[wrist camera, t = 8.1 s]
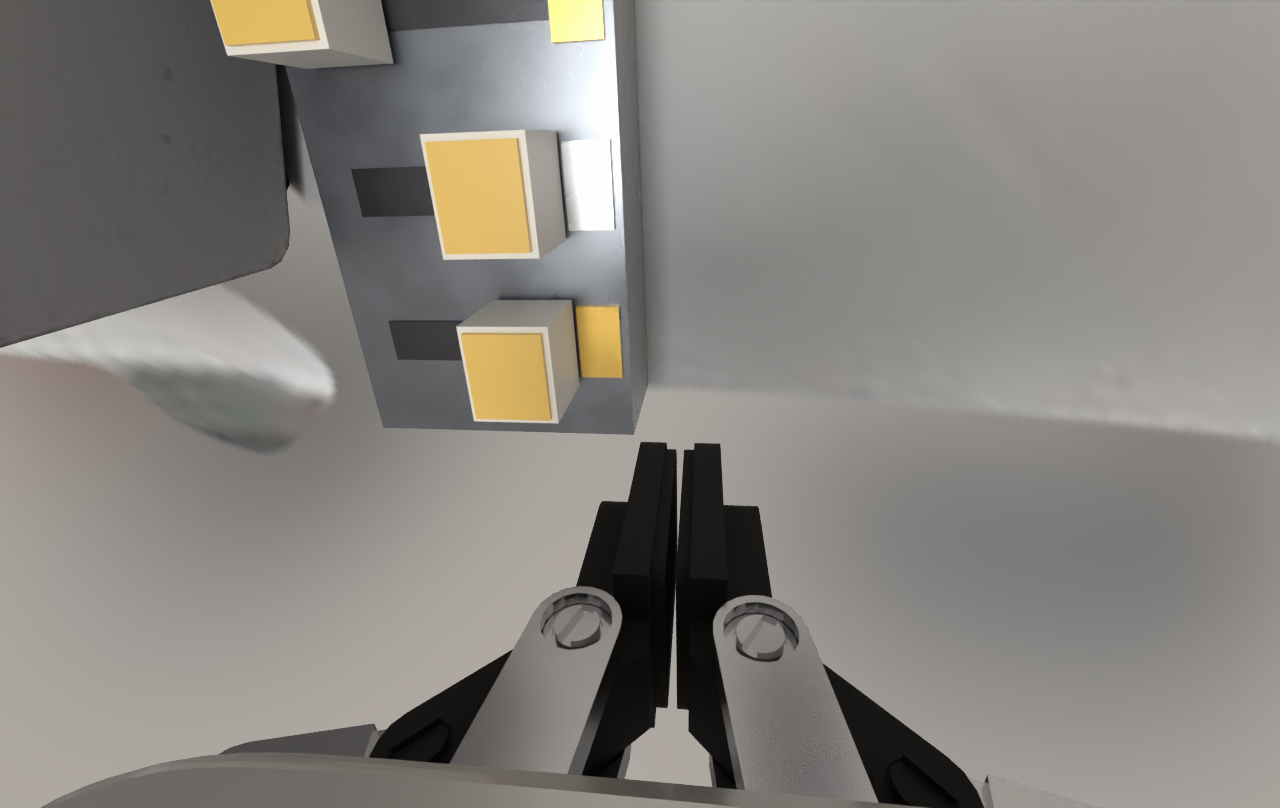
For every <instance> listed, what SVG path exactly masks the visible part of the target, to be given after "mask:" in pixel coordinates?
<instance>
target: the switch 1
mask: <svg viewBox="0 0 1280 808" xmlns="http://www.w3.org/2000/svg"><path fill="white" fill-rule="evenodd" d="M210 1H211V4H212V8H213V11H214V14H215V17H216V20H217V24H218V27H219V30H220V33H221V37H222V40H223V43H224V46H225V50H226V53H227V56H233V57H239V58H245V59H250V60H256V61H262V62H268V63H274V64H280V65H286V66H292V67H298V68H304V69H313V68H329V67H345V66H360V65H376V64H392V63H393V59H392V54H391V49H390V44H389V39H388V34H387V29H386V23H385V18H384V13H383V8H382V3H381V0H210Z"/></svg>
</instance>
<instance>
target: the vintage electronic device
mask: <svg viewBox="0 0 1280 808" xmlns="http://www.w3.org/2000/svg"><path fill="white" fill-rule="evenodd" d="M288 187H289V180H288V176H287V171H286V168H285V167H284V156H283V145H282V133H281V122H280V110H279V99H278V87H277V75H276V64H274V63H268V62H262V61H256V60H250V59H245V58H239V57H233V56H227V53H226V50H225V46H224V43H223V40H222V37H221V33H220V30H219V27H218V24H217V20H216V17H215V14H214V11H213V8H212V4H211V1H210V0H0V348H1V347H5V346H8V345H11V344H15V343H18V342H22V341H25V340H28V339H32V338H35V337H39V336H42V335H45V334H49V333H52V332H56V331H59V330H62V329H66V328H69V327H73V326H76V325H79V324H83V323H86V322H90V321H93V320H97V319H100V318H103V317H107V316H110V315H114V314H117V313H120V312H124V311H127V310H131V309H134V308H137V307H141V306H144V305H148V304H151V303H154V302H158V301H161V300H165V299H168V298H171V297H175V296H178V295H182V294H185V293H189V292H192V291H195V290H199V289H202V288H206V287H209V286H212V285H216V284H219V283H223V282H226V281H229V280H233V279H236V278H240V277H243V276H246V275H250V274H253V273H257V272H260V271H263V270H267V269H270V268H272V267H273V266H275V265H276V264H278V263H279V262H281V260H282V258H283V256H284V254H285V253H286V251H287V249H288V246H289V236H290V227H289V216H288V203H287V189H288Z"/></svg>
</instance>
